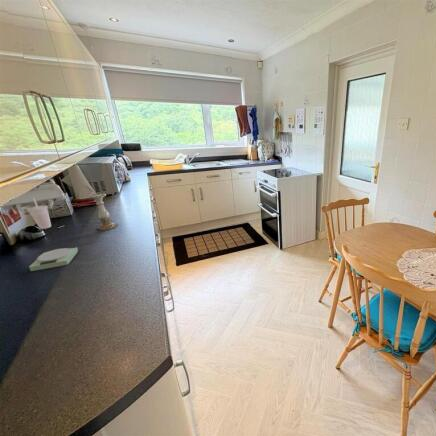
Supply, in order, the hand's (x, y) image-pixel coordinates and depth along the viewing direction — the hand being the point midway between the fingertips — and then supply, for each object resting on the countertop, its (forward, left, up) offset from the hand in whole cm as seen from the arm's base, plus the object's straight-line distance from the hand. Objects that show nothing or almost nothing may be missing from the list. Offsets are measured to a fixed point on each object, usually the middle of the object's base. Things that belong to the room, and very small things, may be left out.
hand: (39, 211), depth 102 cm
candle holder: (+14, +27, -22) cm, 38 cm away
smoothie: (0, +1, -8) cm, 8 cm away
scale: (+2, -8, -21) cm, 23 cm away
